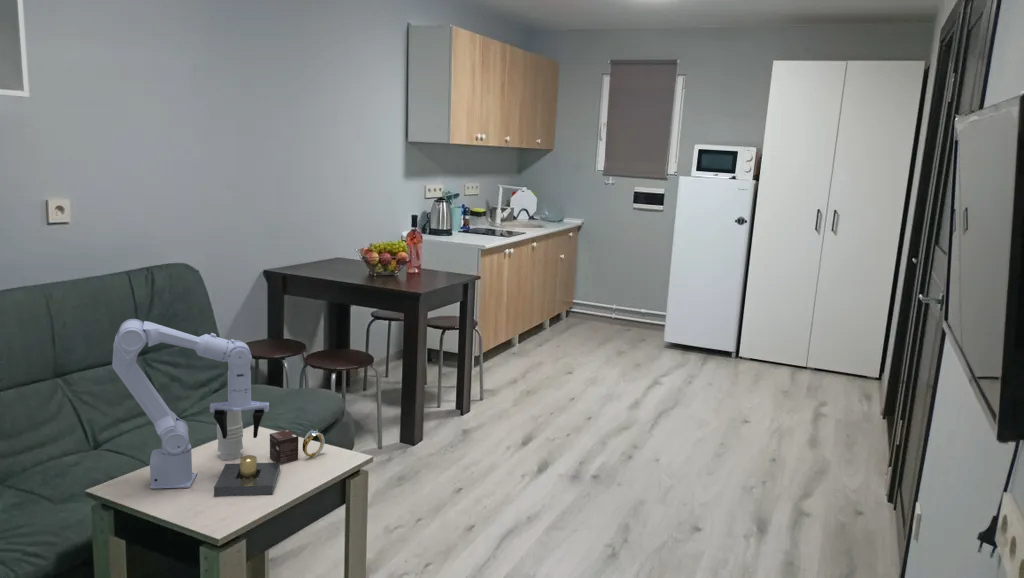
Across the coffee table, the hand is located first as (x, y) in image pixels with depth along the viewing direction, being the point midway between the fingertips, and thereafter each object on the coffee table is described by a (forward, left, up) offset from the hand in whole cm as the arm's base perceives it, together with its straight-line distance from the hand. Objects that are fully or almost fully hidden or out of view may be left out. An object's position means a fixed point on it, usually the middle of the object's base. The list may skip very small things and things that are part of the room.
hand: (240, 436), depth 191 cm
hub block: (+3, -6, -10) cm, 12 cm away
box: (+10, +9, -11) cm, 17 cm away
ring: (+18, +10, -11) cm, 23 cm away
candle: (-5, +12, -11) cm, 17 cm away
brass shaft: (+3, -6, -10) cm, 12 cm away
